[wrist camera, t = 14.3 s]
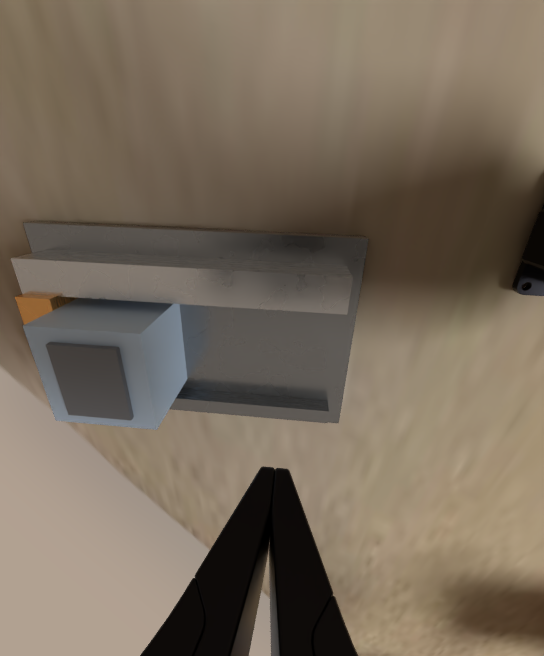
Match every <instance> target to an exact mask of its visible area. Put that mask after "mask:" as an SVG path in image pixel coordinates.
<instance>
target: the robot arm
mask: <svg viewBox="0 0 544 656" xmlns="http://www.w3.org/2000/svg"><path fill="white" fill-rule="evenodd" d="M526 282H527V285H526V287H524V288H522V285H523V284H524V283H526ZM513 290H514V291H515V292H517V293H519V294H522V295H535V296H544V205H543V207H542V210H541V212H539V214H538V217H537V220H536V222H535V225H534V227H533V230H532V233H531V235H530V238H529V241H528V243H527V246H526V248H525V251H524V254H523V256H522V262H521V265H520V267H519V270H518V272H517V275H516V278H515V280H514V283H513ZM269 542H270V545H269ZM268 550H269V574H270V620H271V621H270V623H271V656H358V654H357V652H356V650H355V648H354V645H353V643H352V641H351V638H350V635H349V633H348V630H347V628H346V625H345V623H344V620H343V617H342V615H341V612H340V609H339V607H338V604H337V601H336V598H335V596H333V590H332V588H331V585H330V582H329V579H328V576H327V574H326V571H325V568H324V565H323V563H322V560H321V557H320V554H319V551H318V549H317V546H316V543H315V540H314V538H313V535H312V532H311V529H310V526H309V524H308V521H307V518H306V515H305V513H304V510H303V507H302V504H301V501H300V499H299V496H298V493H297V490H296V488H295V485H294V482H293V479H292V476H291V474H290V471H289V470H288V469H283V468H276V469H274V468H273V467H261V468H260V470H259V471H258V473H257V475H256V476H255V478H254V480H253V481H252V483H251V484H250V486H249V488H248V489H247V491H246V493H245V494H244V496H243V497H242V499H241V501H240V502H239V504H238V506H237V507H236V509H235V511H234V512H233V514H232V515H231V517H230V519H229V520H228V522H227V524H226V525H225V527H224V528H223V530H222V532H221V533H220V535H219V537H218V538H217V540H216V542H215V543H214V545H213V546H212V548H211V550H210V551H209V553H208V555H207V556H206V558H205V560H204V561H203V563H202V564H201V566H200V568H199V569H198V571H197V573H196V575H195V578H193V579H192V580H191V582H190V584H189V585H188V587H187V589H186V590H185V592H184V594H183V595H182V597H181V598H180V600H179V601H178V603H177V604H176V606H175V607H174V609H173V610H172V612H171V613H170V615H169V617H168V618H167V619H166V621H165V622H164V624H163V625H162V626H161V628H160V629H159V631H158V632H157V633H156V635H155V636H154V638H153V639H152V640H151V642H150V643H149V644H148V646H147V647H146V648H145V650H144V651H143V652H142V654H141V655H140V656H249V650H250V645H251V640H252V635H253V630H254V624H255V619H256V614H257V608H258V604H259V598H260V593H261V588H262V583H263V578H264V573H265V567H266V562H267V556H268Z"/></svg>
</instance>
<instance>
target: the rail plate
mask: <svg viewBox="0 0 544 656" xmlns="http://www.w3.org/2000/svg"><path fill="white" fill-rule="evenodd" d="M23 225H24V228H25V231H26V235H27V238H28V241H29V244H30V248H31V251H32V253H30V254H26V255H22V256H18V257H13V258H10V259H11V262H12V265H13V268H14V271H15V274H16V277H17V280H18V283H19V286H20V288H21V291H22V294H21V295H18V296H16V297H15V299H16V302H17V305H18V308H19V311H20V314H21V317H22V319H23V322H24V325H25V324H27V323H29V322H31V321H33V320H35V319H37V318H39V317H41V316H43V315H45V314H47V313H49V312H51V311H53V310H55V309H57V308H59V307H61V306H63V305H65V304H67V303H69V302H71V301H73V300H75V299H77V298H93V299H109V300H124V301H140V302H156V303H172V304H180V314H181V323H182V333H183V342H184V351H185V361H186V370H187V380H186V382H185V384H184V385H183V387H182V389H181V390H180V392H179V394H178V395H177V397H176V399H175V400H174V402H173V404H172V405H171V407H170V409H173V410H185V411H196V412H207V413H219V414H230V415H241V416H253V417H264V418H275V419H287V420H298V421H309V422H321V423H328V422H329V423H339V418H340V411H341V405H342V399H343V393H344V387H345V381H346V375H347V368H348V362H349V356H350V350H351V344H352V338H353V332H354V325H355V319H356V313H357V307H358V301H359V295H360V289H361V282H362V276H363V270H364V264H365V258H366V252H367V246H368V240H369V239H368V238H367V237H366V236H351V235H329V234H307V233H285V232H263V231H242V230H220V229H198V228H176V227H154V226H133V225H111V224H89V223H67V222H45V221H33V222H25V223H23Z"/></svg>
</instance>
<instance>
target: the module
mask: <svg viewBox="0 0 544 656" xmlns="http://www.w3.org/2000/svg"><path fill="white" fill-rule="evenodd" d="M23 329H24V332H25V335H26V337H27V340H28V343H29V346H30V349H31V352H32V354H33V357H34V360H35V363H36V366H37V369H38V371H39V374H40V377H41V380H42V383H43V386H44V388H45V391H46V394H47V397H48V400H49V403H50V405H51V408H52V411H53V414H54V417H55V420H57V421H67V422H78V423H89V424H100V425H111V426H122V427H133V428H144V429H154V430H157V429H158V427H159V425H160V424H161V422H162V420H163V419H164V417H165V415H166V414H167V412H168V410H169V409H170V407H171V405H172V404H173V402H174V400H175V399H176V397H177V395H178V394H179V392H180V390H181V389H182V387H183V385H184V384H185V382H186V380H187V370H186V361H185V351H184V342H183V333H182V323H181V314H180V304H172V303H156V302H140V301H124V300H109V299H93V298H77V299H75V300H73V301H71V302H69V303H67V304H65V305H63V306H61V307H59V308H57V309H55V310H53V311H51V312H49V313H47V314H45V315H43V316H41V317H39V318H37V319H35V320H33V321H31V322H29V323H27V324H25V325H23Z"/></svg>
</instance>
